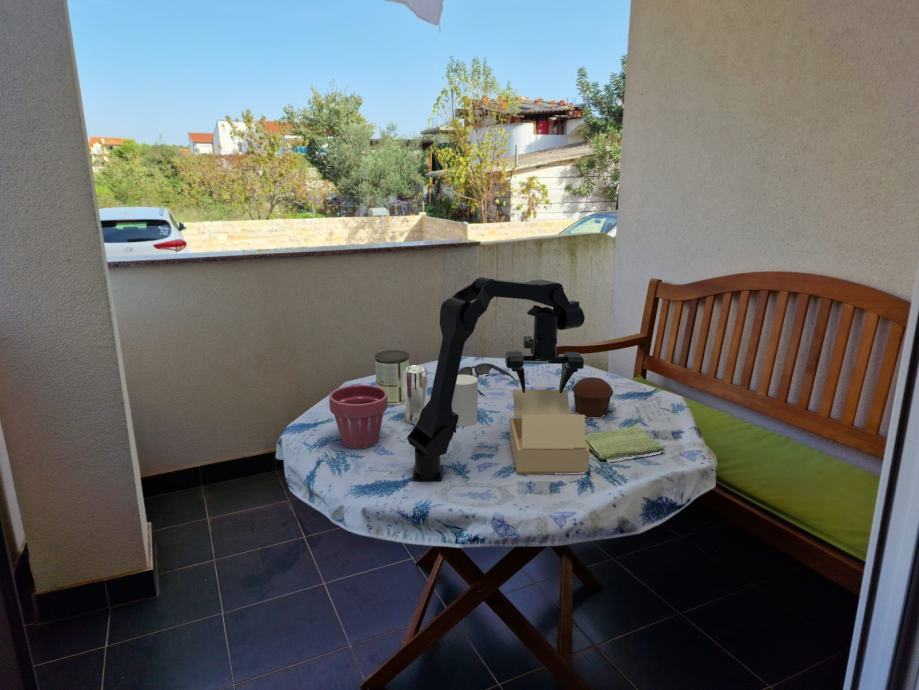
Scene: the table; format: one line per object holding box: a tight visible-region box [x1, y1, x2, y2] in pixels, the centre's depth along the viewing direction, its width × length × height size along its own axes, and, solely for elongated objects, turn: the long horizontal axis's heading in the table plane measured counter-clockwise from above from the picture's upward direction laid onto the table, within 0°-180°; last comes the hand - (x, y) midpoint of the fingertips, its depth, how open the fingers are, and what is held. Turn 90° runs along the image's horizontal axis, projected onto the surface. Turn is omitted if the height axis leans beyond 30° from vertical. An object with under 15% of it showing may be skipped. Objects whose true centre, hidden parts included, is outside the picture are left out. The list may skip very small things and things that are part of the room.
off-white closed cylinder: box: [452, 375, 479, 427], centre depth 152 cm, size 8×8×12 cm
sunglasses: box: [458, 362, 520, 397], centre depth 181 cm, size 16×17×5 cm
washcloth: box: [585, 426, 666, 460], centre depth 137 cm, size 13×18×3 cm
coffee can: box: [374, 349, 410, 406], centre depth 167 cm, size 10×10×14 cm
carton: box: [509, 417, 591, 475], centre depth 132 cm, size 18×16×6 cm
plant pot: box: [329, 384, 389, 450], centre depth 139 cm, size 14×14×13 cm
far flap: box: [512, 389, 571, 418], centre depth 141 cm, size 7×14×1 cm
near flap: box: [521, 414, 586, 448], centre depth 123 cm, size 7×14×1 cm
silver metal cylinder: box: [402, 364, 429, 426], centre depth 151 cm, size 7×7×15 cm
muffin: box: [571, 376, 614, 418], centre depth 158 cm, size 12×11×10 cm
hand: (542, 392), depth 138 cm, fingers open, 9 cm apart
